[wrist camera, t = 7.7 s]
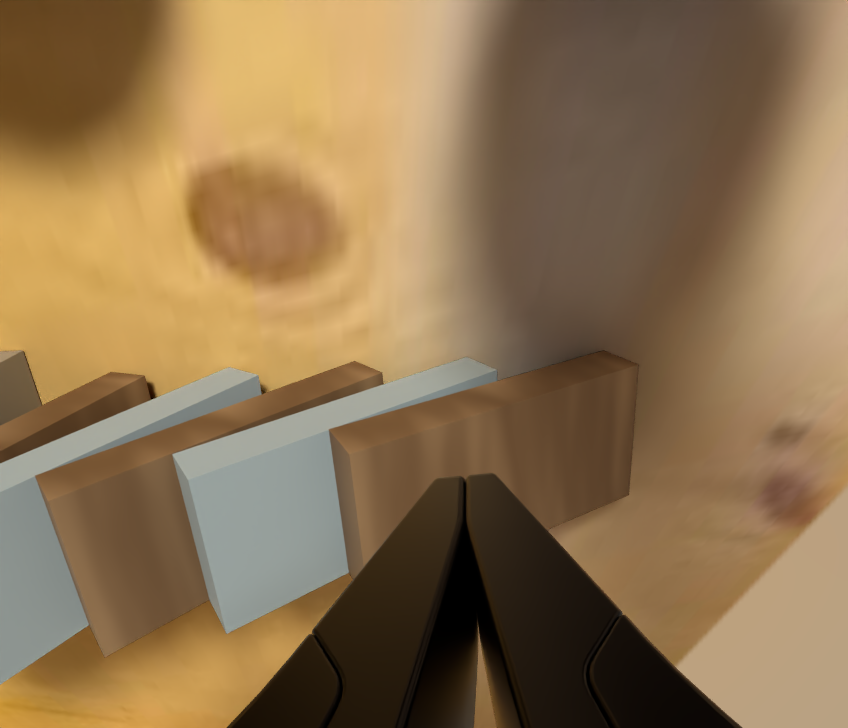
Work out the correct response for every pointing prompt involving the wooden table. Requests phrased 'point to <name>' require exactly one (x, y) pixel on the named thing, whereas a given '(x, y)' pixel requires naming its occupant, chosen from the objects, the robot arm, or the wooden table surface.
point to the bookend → (16, 386)
